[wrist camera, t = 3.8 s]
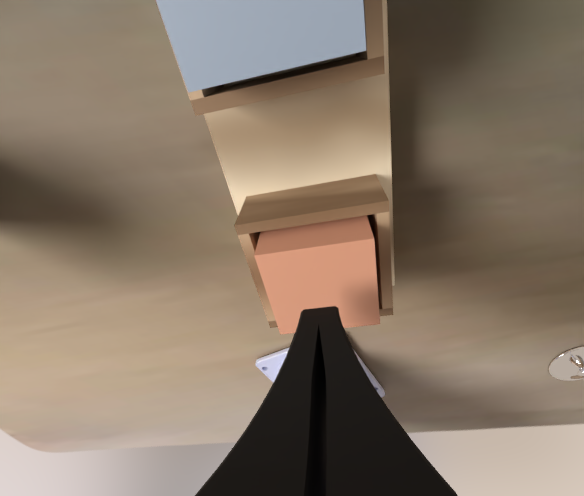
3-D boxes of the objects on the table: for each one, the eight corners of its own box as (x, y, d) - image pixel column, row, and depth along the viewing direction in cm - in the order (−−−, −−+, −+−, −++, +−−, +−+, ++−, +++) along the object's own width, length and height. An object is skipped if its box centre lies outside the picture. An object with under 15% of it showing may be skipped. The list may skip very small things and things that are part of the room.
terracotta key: (369, 282, 17) (380, 324, 14) (284, 292, 18) (280, 334, 15) (362, 204, 14) (374, 238, 12) (263, 220, 15) (254, 255, 12)
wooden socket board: (387, 265, 20) (408, 323, 16) (270, 280, 21) (260, 338, 17) (368, -196, 10) (409, -367, 6) (145, -117, 11) (47, -212, 7)
